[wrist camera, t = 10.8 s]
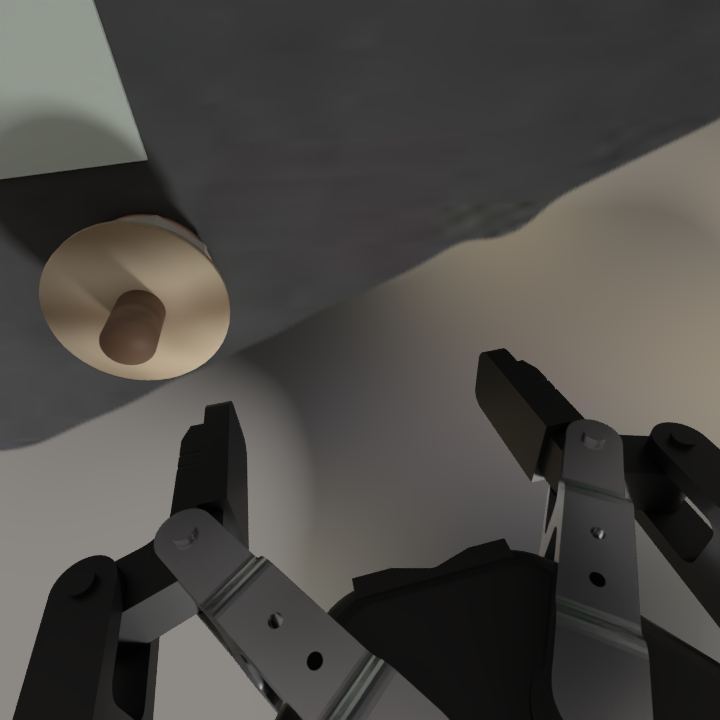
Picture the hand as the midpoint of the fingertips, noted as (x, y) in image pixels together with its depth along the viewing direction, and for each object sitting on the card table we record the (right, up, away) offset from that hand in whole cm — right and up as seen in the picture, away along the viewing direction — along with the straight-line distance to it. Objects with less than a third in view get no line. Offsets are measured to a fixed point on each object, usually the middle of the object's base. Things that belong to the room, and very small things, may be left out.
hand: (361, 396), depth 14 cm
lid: (-16, +5, +17) cm, 24 cm away
